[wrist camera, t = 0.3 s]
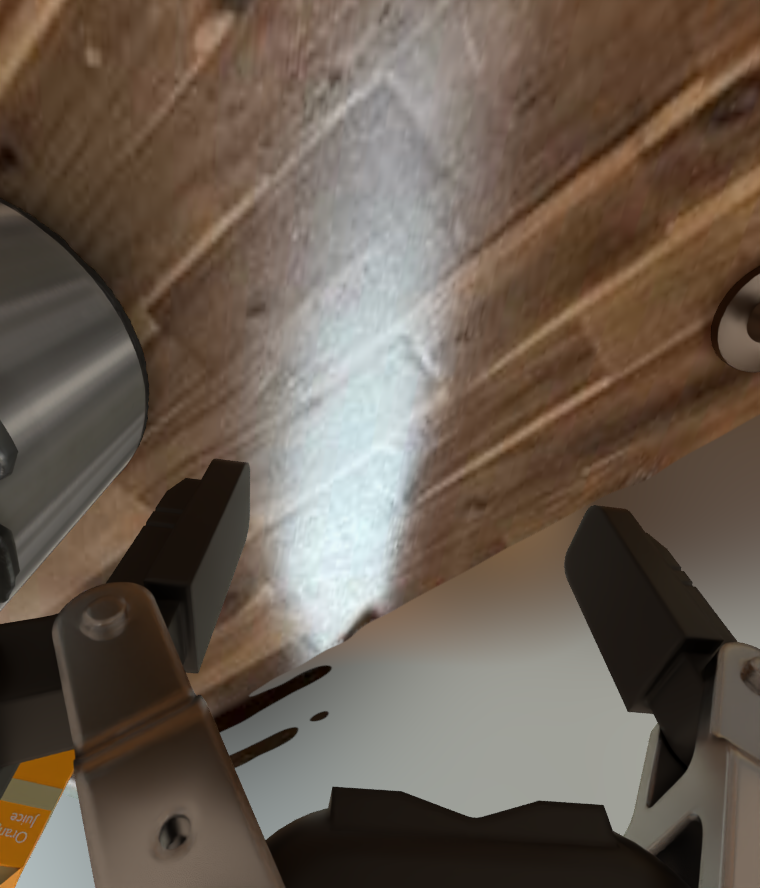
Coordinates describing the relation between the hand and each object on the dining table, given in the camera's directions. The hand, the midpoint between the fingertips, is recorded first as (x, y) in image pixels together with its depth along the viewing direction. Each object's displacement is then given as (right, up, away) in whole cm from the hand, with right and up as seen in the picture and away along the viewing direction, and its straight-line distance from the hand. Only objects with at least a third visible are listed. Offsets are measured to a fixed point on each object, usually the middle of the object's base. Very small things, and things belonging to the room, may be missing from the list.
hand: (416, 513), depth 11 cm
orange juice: (-51, -46, +61) cm, 92 cm away
